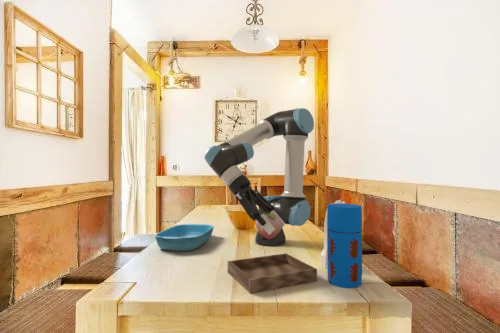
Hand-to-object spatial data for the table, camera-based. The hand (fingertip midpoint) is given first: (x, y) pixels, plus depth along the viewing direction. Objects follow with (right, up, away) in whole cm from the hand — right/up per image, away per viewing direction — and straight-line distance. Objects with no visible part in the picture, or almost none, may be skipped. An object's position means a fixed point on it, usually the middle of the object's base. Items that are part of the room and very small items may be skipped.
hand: (277, 229), depth 104 cm
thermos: (+22, -17, -3) cm, 27 cm away
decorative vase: (+23, -17, +13) cm, 31 cm away
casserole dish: (-41, -17, +47) cm, 64 cm away
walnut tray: (-2, -17, +2) cm, 17 cm away
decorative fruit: (-3, -4, +2) cm, 5 cm away
